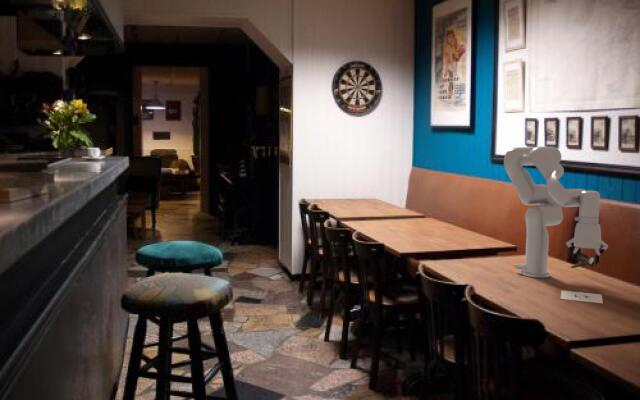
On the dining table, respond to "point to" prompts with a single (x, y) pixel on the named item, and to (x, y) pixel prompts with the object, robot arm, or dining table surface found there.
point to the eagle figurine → (583, 260)
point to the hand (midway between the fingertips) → (585, 263)
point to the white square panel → (581, 296)
